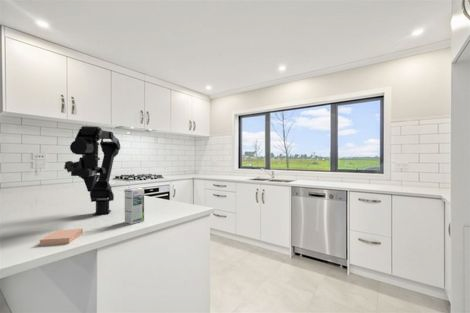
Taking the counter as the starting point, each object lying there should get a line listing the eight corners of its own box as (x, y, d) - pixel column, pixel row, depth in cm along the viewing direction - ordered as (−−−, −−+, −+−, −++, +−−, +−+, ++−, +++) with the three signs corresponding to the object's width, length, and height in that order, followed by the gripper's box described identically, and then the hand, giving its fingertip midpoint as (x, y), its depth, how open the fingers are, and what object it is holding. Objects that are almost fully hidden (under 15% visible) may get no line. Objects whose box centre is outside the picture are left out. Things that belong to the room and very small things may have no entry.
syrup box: (132, 224, 87) (132, 189, 87) (123, 222, 90) (124, 188, 90) (144, 221, 92) (144, 187, 92) (136, 218, 95) (136, 186, 95)
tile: (57, 230, 75) (39, 239, 66) (82, 228, 77) (69, 237, 68) (56, 236, 75) (39, 247, 66) (82, 235, 76) (69, 245, 68)
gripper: (79, 155, 98) (78, 189, 98) (55, 154, 80) (54, 195, 80) (106, 155, 101) (105, 188, 100) (88, 154, 82) (88, 194, 82)
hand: (89, 191), depth 90 cm, fingers closed
